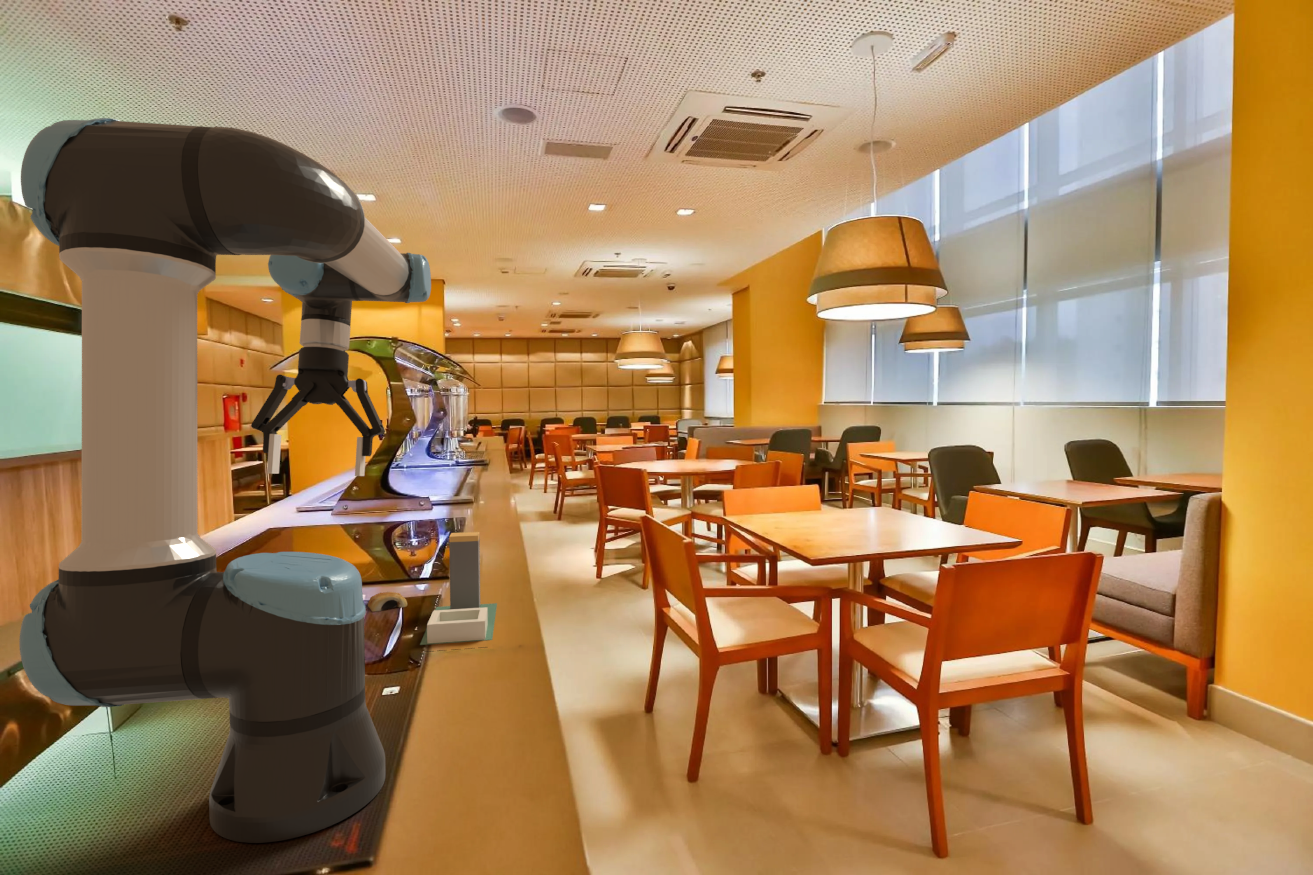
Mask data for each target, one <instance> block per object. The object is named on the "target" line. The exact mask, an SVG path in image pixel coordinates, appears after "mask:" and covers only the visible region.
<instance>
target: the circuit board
mask: <svg viewBox="0 0 1313 875" xmlns="http://www.w3.org/2000/svg"><path fill="white" fill-rule="evenodd" d="M483 607H487V609H488V626H487V632H486V638H485V640H471V641H457V642H443V643H429V644H427V628H426V629H425V631H424V634H423V637H422V639H421V641H420V643H419V646H424V645H425V646H426V645H439V644H442V645H443V644H451V643H452V644H454V643H455V644H456V643H469V642H483V641H493V636H494V629H495V622H496V614H497V608H498V603H497V602H496V603H480V608H483ZM434 610H450V605H446V606H445V605H444V606H436V607H435V609H434ZM483 648H484V649H485V648H487V646H485V647H484V646H483V647H479V649H483ZM471 649H474V647H470V648H469V647H468V648H467V647H466V648H465V650H471ZM455 650H456V651H457V650H460V648H457V649H456V648H455V649H452V651H455ZM443 651H446V649H442V650H441V649H439V650H438V652H443ZM429 652H433V650H427V651H424V653H429Z"/></svg>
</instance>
